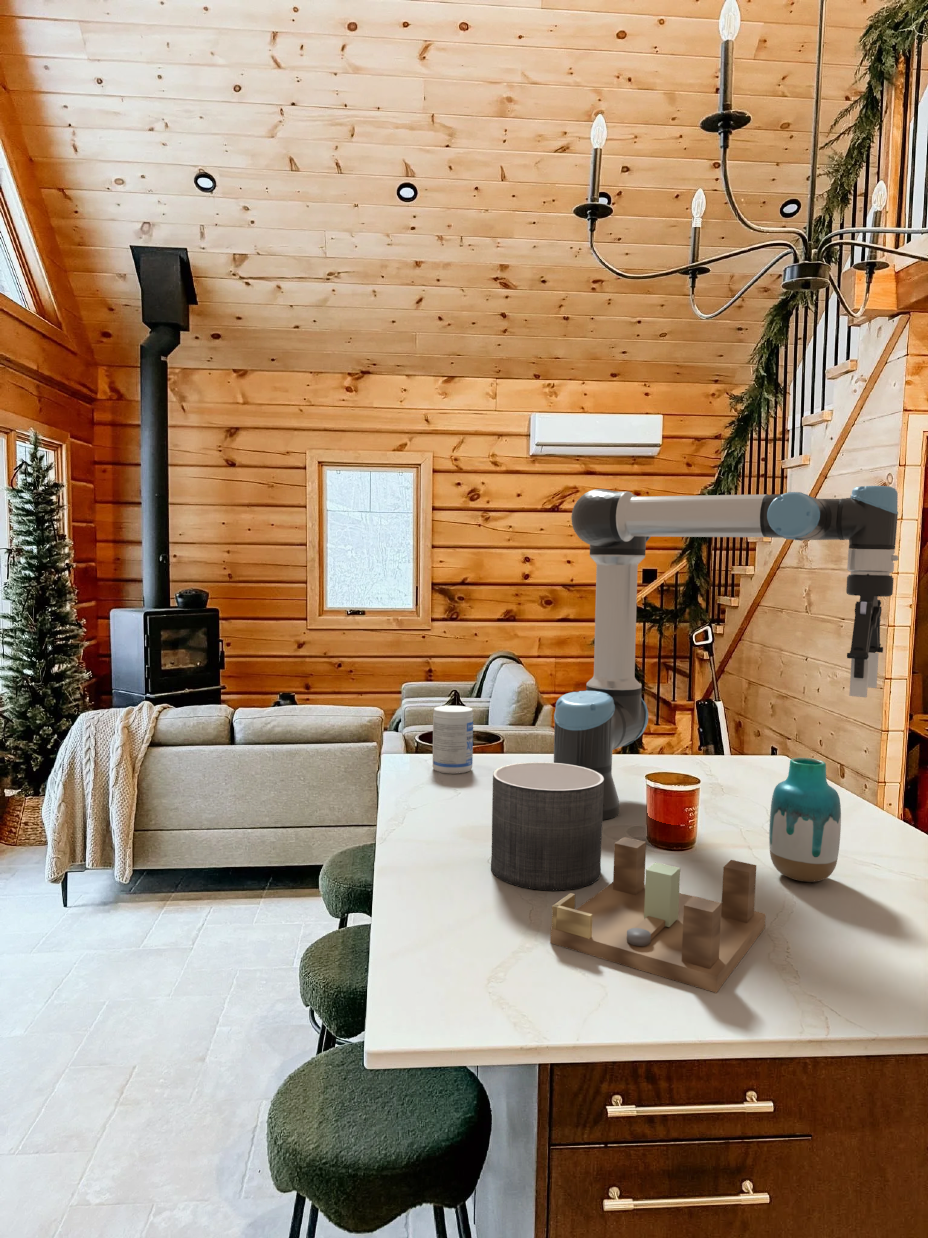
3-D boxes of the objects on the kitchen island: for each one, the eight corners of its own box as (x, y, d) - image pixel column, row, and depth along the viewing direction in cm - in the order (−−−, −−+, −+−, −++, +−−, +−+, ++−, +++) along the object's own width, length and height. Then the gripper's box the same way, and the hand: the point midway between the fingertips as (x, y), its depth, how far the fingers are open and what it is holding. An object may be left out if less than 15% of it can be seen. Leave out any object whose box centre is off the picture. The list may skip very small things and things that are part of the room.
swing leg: (621, 941, 109) (622, 887, 108) (653, 912, 118) (655, 862, 118) (647, 949, 107) (649, 894, 106) (678, 918, 116) (680, 868, 116)
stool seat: (550, 943, 113) (552, 876, 112) (617, 891, 131) (619, 833, 130) (716, 993, 101) (719, 918, 100) (764, 927, 119) (768, 864, 118)
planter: (527, 899, 127) (530, 795, 126) (471, 861, 143) (473, 768, 142) (623, 881, 135) (627, 783, 134) (560, 846, 151) (563, 758, 150)
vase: (834, 871, 141) (841, 757, 140) (840, 895, 131) (847, 772, 130) (766, 862, 145) (772, 751, 143) (767, 885, 135) (773, 765, 133)
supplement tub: (476, 774, 200) (477, 711, 199) (436, 775, 198) (437, 712, 197) (467, 764, 209) (468, 704, 208) (429, 765, 207) (430, 705, 206)
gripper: (885, 574, 140) (878, 703, 142) (900, 574, 161) (893, 685, 163) (836, 573, 144) (829, 698, 146) (857, 572, 165) (851, 681, 167)
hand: (863, 691), depth 154 cm, fingers open, 13 cm apart
